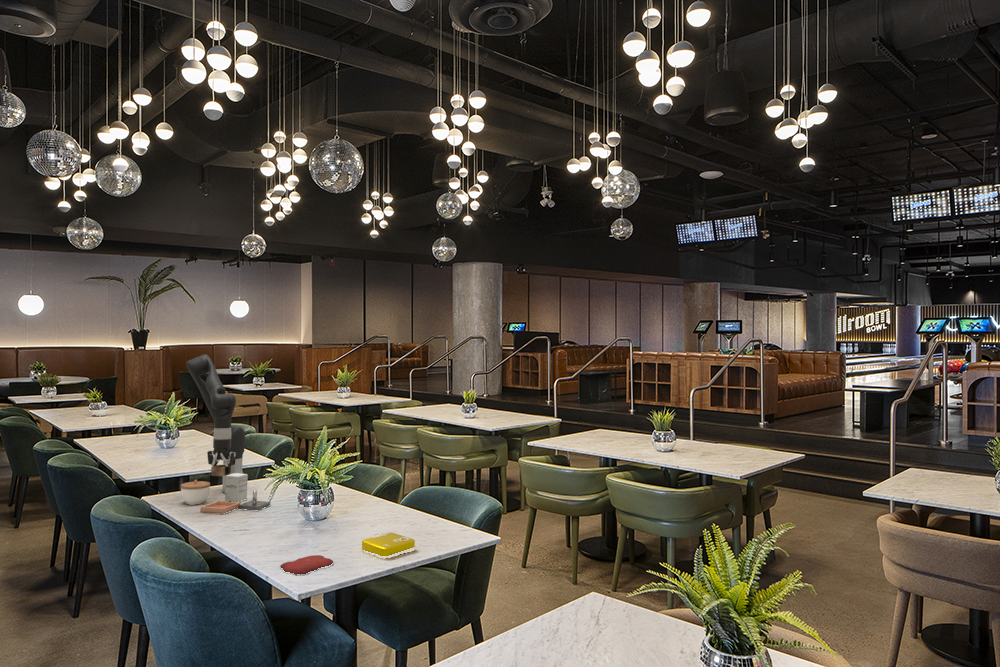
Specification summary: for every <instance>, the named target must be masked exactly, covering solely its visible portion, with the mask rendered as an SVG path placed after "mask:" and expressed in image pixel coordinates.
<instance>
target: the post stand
mask: <svg viewBox="0 0 1000 667" xmlns="http://www.w3.org/2000/svg"><path fill="white" fill-rule="evenodd" d="M257 497H258V490H257V489H254V490H252V500H249V501H247V502H246V501H245V502H244V503H241V504H240V505H238V509H247V510H259V509H262V508H264V507H267V506H269V505H270V506H271V501H263V500H257V499H258V498H257ZM270 506H269V507H270ZM267 508H268V507H267ZM238 509H237V510H238ZM247 510H246V511H247ZM262 510H263V509H262Z"/></svg>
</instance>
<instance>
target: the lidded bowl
mask: <svg viewBox="0 0 1000 667" xmlns="http://www.w3.org/2000/svg"><path fill="white" fill-rule="evenodd" d="M210 487H211V482H209V481H203V480H199V481H198V479H194V481H189V482H184V483H182V484H180V493H181V499H182V501H184V503H185V504H186V505H188V504H189V505H190V506H196V505H195V504H198V505H201V503H202V504H204V502H206V500H207V499H208V497H209V495H210Z"/></svg>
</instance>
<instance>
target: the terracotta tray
mask: <svg viewBox="0 0 1000 667" xmlns="http://www.w3.org/2000/svg"><path fill="white" fill-rule="evenodd" d="M241 504H242V503H241V502H229V501H225V500H224V501H223V500H216V501H214V502H211V503H208V504H204V505H202V506H200V507H199V512H207V513H206V514H212V513H220V514H219V515H225V514H224V513H226V512H229V511H231V512H233V511H232V510H234V509H237V508H238V505H241ZM237 510H238V509H237ZM234 511H235V510H234ZM229 513H230V512H229ZM226 514H227V513H226Z"/></svg>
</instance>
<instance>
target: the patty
mask: <svg viewBox="0 0 1000 667" xmlns="http://www.w3.org/2000/svg"><path fill="white" fill-rule="evenodd" d="M333 562H334V560H332V559H331V558H329V557H328V558H327V557H325V556H323V555H321V554H320V555H319V554H318V555H317V554H316V555H308V556H304V557H299V558H297V559H296V560H293V561H292V560H291V561H287V562H283V563H282V564H281V565H280V567H281V568H283V569H282V571H283V570H284V571H285V572H290V573H294V574H306V573H308V572H310V571H314V570H317V569H318V568H321V567H325V566H329V565H331V564H332V563H333ZM281 568H280V569H281ZM318 570H319V569H318ZM318 570H317V571H318ZM285 572H284V573H285ZM314 572H315V571H314ZM310 573H311V572H310ZM294 574H293V575H294Z"/></svg>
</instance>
